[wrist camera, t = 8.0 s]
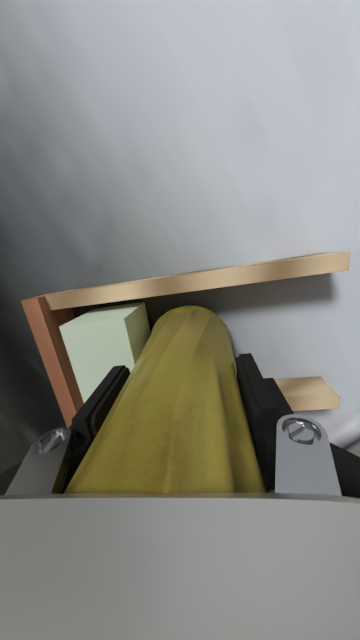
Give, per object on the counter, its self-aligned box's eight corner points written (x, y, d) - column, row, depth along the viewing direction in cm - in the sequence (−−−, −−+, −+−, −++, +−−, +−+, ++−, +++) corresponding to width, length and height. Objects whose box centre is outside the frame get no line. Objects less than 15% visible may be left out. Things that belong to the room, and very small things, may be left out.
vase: (248, 349, 16) (534, 936, 2) (186, 392, 17) (130, 880, 4) (194, 287, 15) (117, 647, 1) (134, 338, 16) (-187, 739, 3)
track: (325, 252, 14) (359, 251, 11) (319, 387, 17) (345, 415, 14) (53, 292, 17) (20, 300, 14) (88, 403, 20) (67, 430, 17)
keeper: (144, 301, 16) (124, 318, 12) (160, 383, 18) (148, 423, 14) (95, 308, 17) (58, 326, 12) (116, 387, 19) (91, 426, 14)
